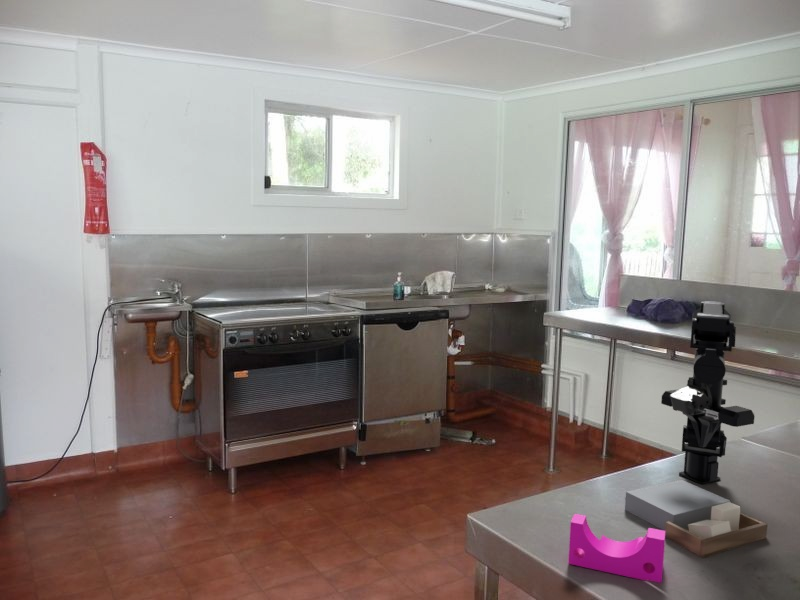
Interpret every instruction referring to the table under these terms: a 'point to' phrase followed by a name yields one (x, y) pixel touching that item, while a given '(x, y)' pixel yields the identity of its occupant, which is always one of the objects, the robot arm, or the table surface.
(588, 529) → the toy block
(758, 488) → the table surface
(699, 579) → the table surface
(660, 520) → the board
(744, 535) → the box
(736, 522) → the tile
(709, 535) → the tile
